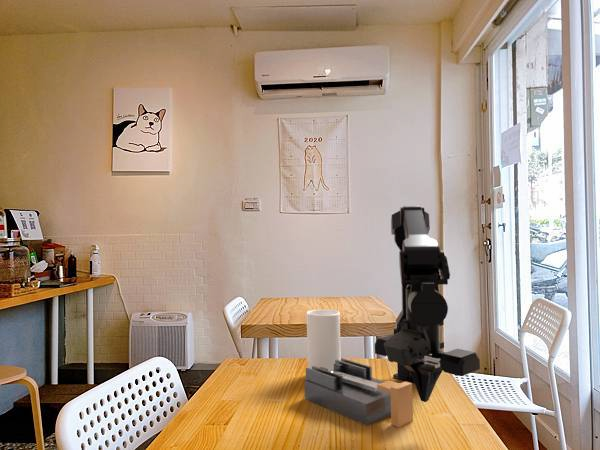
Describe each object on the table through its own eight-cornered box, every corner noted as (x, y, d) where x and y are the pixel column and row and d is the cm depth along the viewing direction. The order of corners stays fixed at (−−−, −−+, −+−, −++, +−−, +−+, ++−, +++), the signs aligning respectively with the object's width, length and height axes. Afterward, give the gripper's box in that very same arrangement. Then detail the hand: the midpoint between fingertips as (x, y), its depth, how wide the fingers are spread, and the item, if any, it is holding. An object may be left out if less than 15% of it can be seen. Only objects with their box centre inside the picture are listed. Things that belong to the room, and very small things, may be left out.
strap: (324, 376, 99) (324, 372, 99) (334, 374, 101) (333, 369, 101) (374, 392, 88) (374, 387, 88) (384, 389, 90) (383, 384, 90)
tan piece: (391, 412, 89) (390, 376, 89) (413, 420, 85) (412, 383, 85) (376, 418, 87) (375, 382, 87) (398, 427, 83) (397, 389, 83)
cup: (339, 383, 107) (337, 315, 107) (305, 381, 109) (303, 315, 109) (342, 372, 115) (341, 309, 115) (311, 370, 117) (309, 309, 117)
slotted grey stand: (344, 385, 105) (343, 357, 105) (407, 408, 91) (406, 376, 91) (304, 398, 98) (304, 368, 98) (366, 425, 84) (365, 390, 84)
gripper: (353, 313, 83) (355, 398, 83) (442, 329, 69) (444, 432, 68) (392, 305, 90) (394, 383, 90) (480, 319, 76) (482, 412, 75)
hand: (424, 401), depth 81 cm, fingers closed
